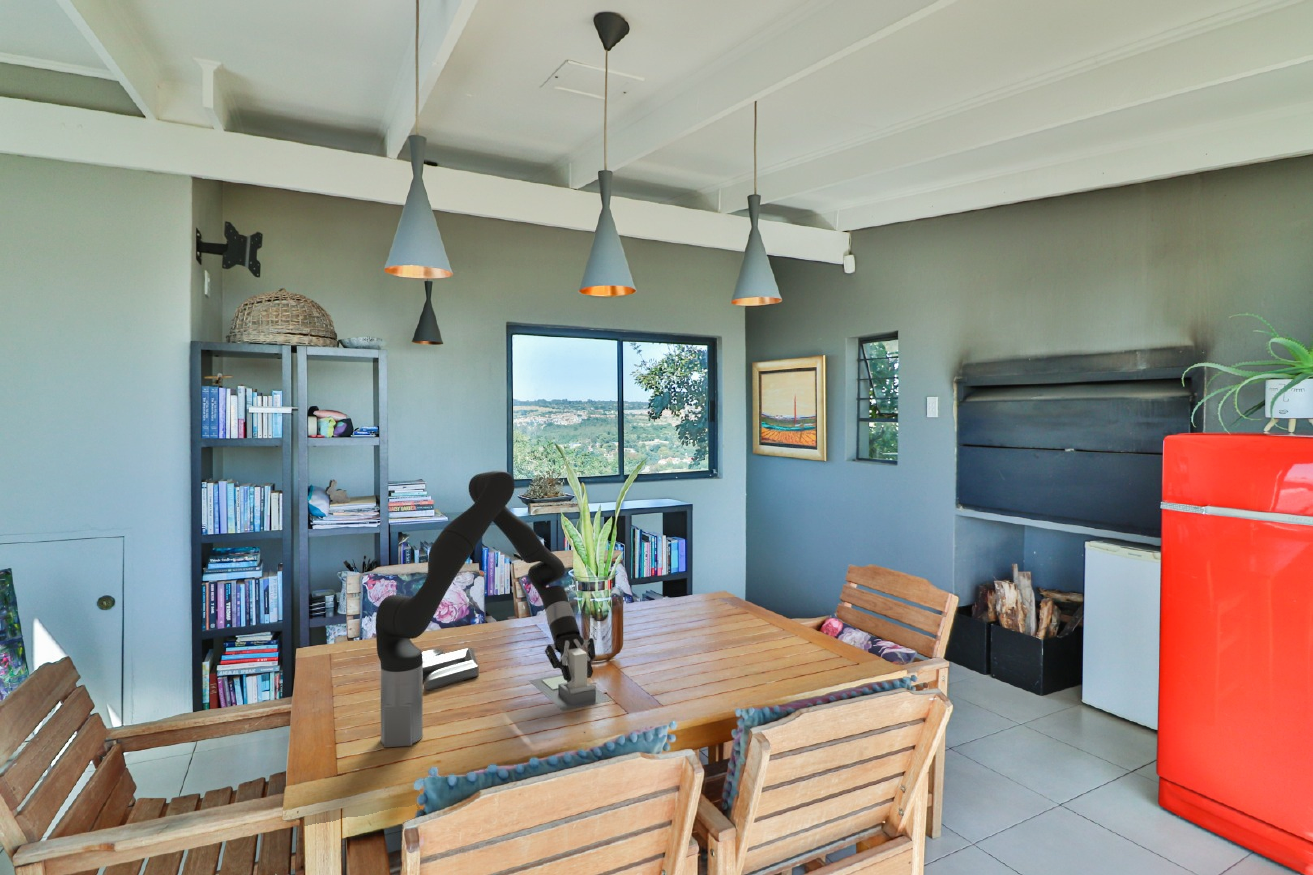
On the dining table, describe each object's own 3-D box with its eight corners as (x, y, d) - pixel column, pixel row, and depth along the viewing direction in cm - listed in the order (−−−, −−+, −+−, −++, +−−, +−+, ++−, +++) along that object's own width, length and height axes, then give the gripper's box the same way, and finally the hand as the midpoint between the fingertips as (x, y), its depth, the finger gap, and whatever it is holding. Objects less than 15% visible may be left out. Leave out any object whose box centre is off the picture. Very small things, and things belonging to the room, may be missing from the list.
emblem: (415, 638, 227) (498, 645, 221) (415, 655, 227) (498, 662, 222) (361, 668, 200) (454, 677, 194) (361, 688, 200) (454, 697, 194)
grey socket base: (562, 715, 182) (563, 696, 182) (528, 684, 203) (528, 667, 202) (612, 704, 189) (612, 686, 189) (574, 675, 210) (574, 659, 210)
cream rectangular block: (574, 700, 188) (574, 655, 188) (566, 694, 193) (567, 649, 192) (586, 698, 190) (587, 653, 190) (578, 691, 195) (579, 647, 194)
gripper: (541, 618, 194) (558, 676, 184) (589, 611, 201) (608, 666, 191) (533, 632, 198) (550, 690, 188) (581, 625, 206) (599, 680, 196)
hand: (579, 678), depth 190 cm, fingers open, 5 cm apart
